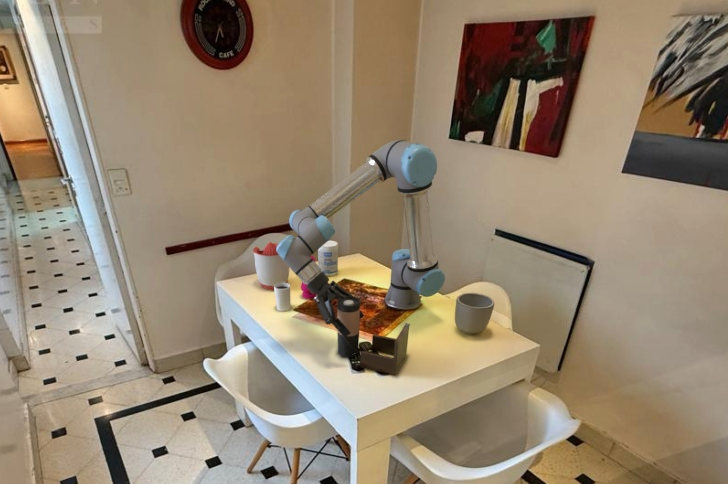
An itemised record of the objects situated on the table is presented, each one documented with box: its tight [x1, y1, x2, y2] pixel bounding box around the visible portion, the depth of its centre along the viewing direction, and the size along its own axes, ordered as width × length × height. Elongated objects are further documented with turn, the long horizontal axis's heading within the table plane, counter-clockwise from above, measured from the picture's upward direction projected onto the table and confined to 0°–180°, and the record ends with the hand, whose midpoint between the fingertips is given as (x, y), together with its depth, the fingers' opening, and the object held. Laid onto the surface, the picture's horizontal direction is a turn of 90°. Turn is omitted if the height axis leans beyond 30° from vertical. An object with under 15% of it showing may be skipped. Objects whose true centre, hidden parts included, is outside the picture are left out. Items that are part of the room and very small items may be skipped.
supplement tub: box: [317, 239, 339, 277], centre depth 221 cm, size 10×10×15 cm
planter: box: [454, 292, 495, 336], centre depth 175 cm, size 14×14×13 cm
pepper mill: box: [300, 254, 317, 300], centre depth 197 cm, size 7×7×20 cm
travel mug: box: [336, 296, 361, 358], centre depth 159 cm, size 8×8×20 cm
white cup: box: [273, 282, 292, 312], centre depth 190 cm, size 7×7×10 cm
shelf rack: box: [359, 322, 411, 376], centre depth 157 cm, size 14×13×13 cm
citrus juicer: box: [252, 241, 290, 291], centre depth 207 cm, size 16×17×20 cm
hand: (355, 326), depth 158 cm, fingers open, 13 cm apart
